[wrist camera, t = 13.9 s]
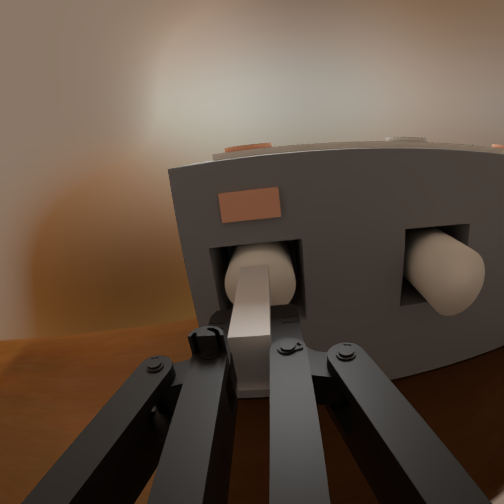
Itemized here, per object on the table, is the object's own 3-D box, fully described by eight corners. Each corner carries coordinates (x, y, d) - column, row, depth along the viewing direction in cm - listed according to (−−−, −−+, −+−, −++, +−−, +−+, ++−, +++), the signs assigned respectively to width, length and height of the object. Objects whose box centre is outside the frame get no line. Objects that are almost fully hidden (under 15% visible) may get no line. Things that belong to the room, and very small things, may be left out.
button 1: (290, 274, 22) (286, 223, 21) (297, 312, 17) (293, 247, 16) (238, 279, 23) (230, 228, 21) (230, 317, 17) (219, 255, 16)
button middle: (437, 273, 19) (442, 220, 17) (477, 309, 14) (489, 245, 12) (391, 280, 19) (394, 224, 18) (425, 321, 14) (435, 253, 13)
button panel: (489, 293, 26) (501, 146, 20) (535, 333, 17) (565, 155, 12) (231, 331, 28) (201, 153, 23) (218, 401, 20) (164, 156, 14)
